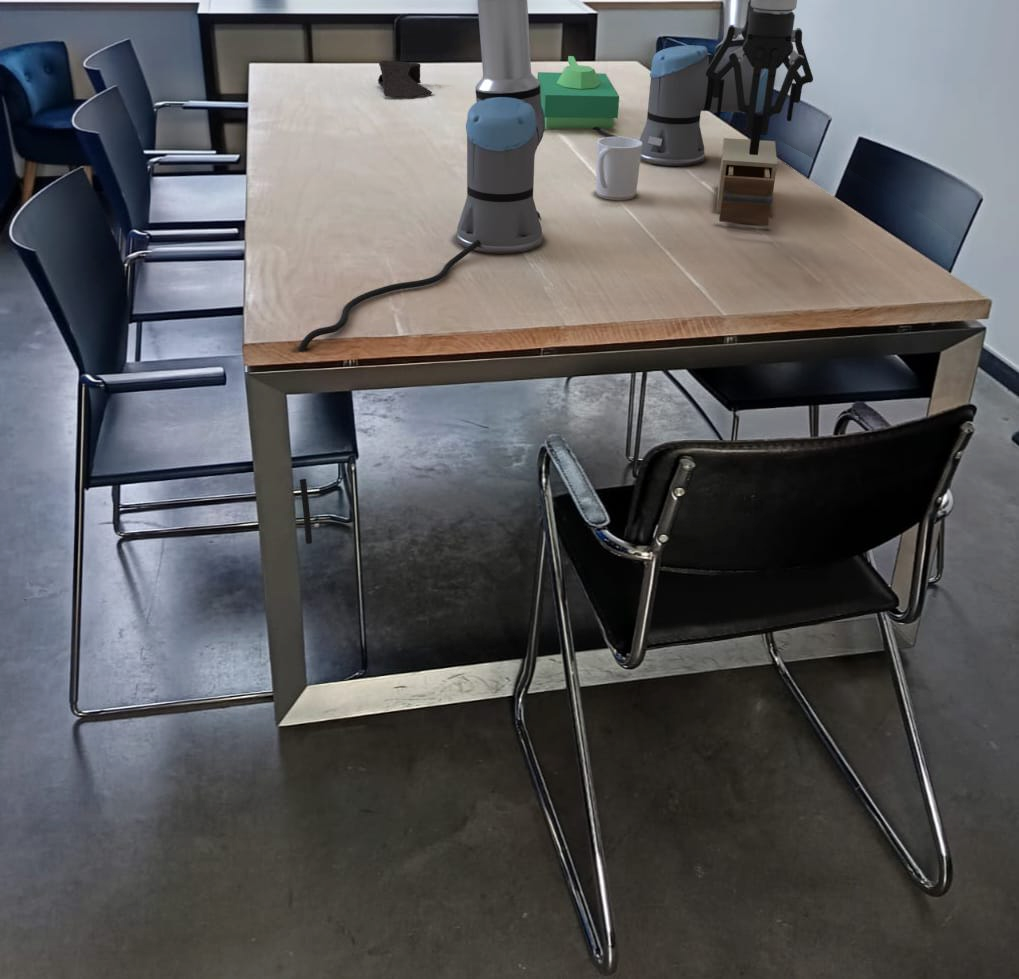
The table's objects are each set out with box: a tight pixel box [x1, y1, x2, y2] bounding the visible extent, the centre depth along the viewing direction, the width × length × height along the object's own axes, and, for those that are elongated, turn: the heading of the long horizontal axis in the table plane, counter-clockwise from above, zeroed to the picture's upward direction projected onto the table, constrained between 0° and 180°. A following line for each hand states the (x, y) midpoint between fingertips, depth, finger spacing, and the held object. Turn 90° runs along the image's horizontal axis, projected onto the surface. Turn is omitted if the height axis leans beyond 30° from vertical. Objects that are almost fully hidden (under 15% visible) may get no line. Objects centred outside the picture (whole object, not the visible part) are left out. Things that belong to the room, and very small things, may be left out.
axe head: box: [377, 59, 433, 99], centre depth 299 cm, size 18×8×15 cm
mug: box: [595, 136, 642, 201], centre depth 218 cm, size 11×9×10 cm
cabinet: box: [716, 137, 778, 217], centre depth 216 cm, size 17×10×10 cm, turn 170°
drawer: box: [719, 165, 775, 226], centre depth 207 cm, size 21×9×8 cm, turn 170°
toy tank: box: [536, 55, 620, 130], centre depth 276 cm, size 18×12×35 cm
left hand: (753, 152), depth 196 cm, fingers closed
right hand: (753, 117), depth 214 cm, fingers open, 13 cm apart
